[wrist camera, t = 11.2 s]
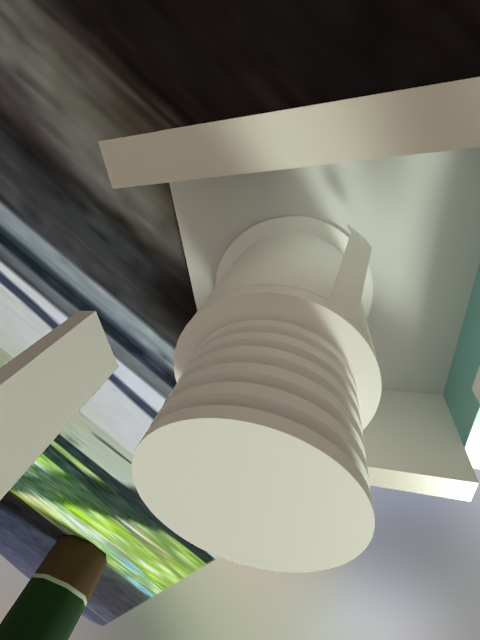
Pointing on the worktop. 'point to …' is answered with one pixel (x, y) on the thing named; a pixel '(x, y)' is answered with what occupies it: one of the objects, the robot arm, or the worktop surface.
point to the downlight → (272, 405)
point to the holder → (375, 226)
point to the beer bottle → (56, 592)
